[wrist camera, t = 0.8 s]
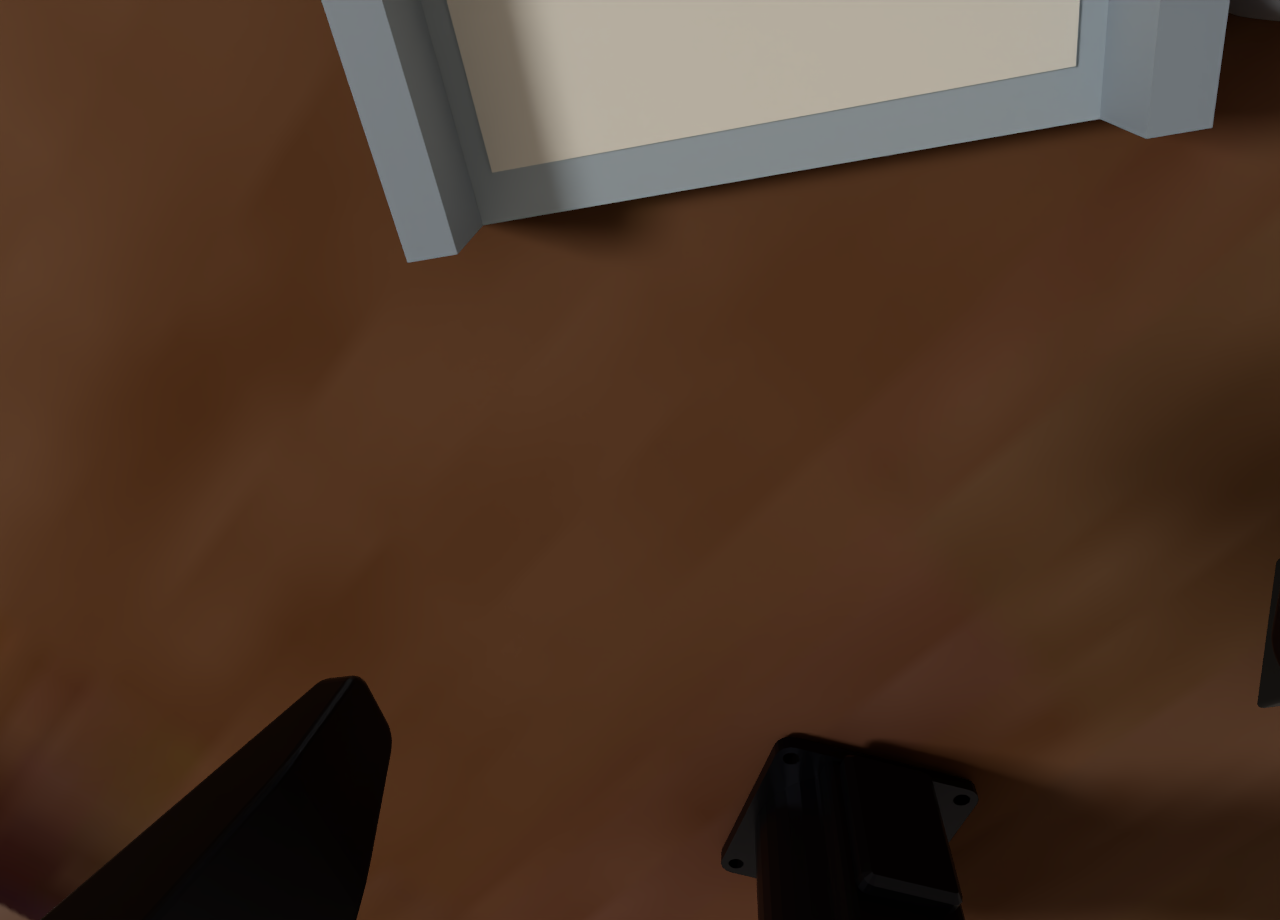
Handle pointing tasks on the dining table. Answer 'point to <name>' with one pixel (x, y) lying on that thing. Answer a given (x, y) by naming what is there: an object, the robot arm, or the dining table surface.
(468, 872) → the dining table surface
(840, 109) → the bay
